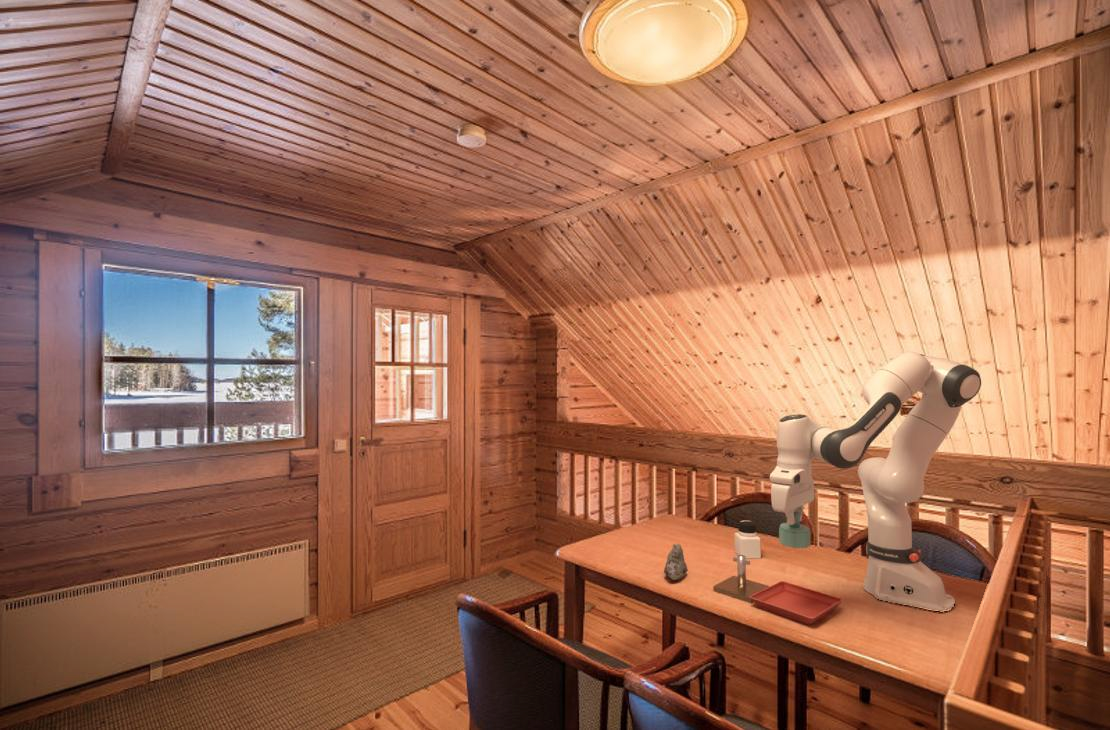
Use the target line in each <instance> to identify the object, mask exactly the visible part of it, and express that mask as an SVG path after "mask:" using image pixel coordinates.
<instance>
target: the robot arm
mask: <svg viewBox="0 0 1110 730" xmlns="http://www.w3.org/2000/svg"><path fill="white" fill-rule="evenodd" d="M981 387H982V378H981V374H980V373H979V371H977V370H976V369H975V368H973V367H971V366H969V365H966V364H961V363H959V362H955V361H953V360H951V359H946V358H942V357H940V358H939V357H937V356H936V357H934V356H929V355H925V354H922V353H921V354H920V353H918V352H913V351H907V352H903V353H901V354H899V355H897V356H895V357H894V358H892V359H890V360H889V361H887V362H886V363H885V364H884V365H882V366H881V367H879V369H877V370H876V371H875V372H874V373H872V374H871V376H869V377H868V378H867V380H866V381H865V383H864V384H863V385H862V388H861V389H862V391H861V392H862V396H863V400H864V401H865V402H866V403H867V404H868V407H867V408H866V409H865V411H863V412H862V413H861V415H860V416H859V417H858V418H857V419H856V420H855V421H854V422H853V423H851V425H849V426H848V427H843V428H834V427H829V426H826V425H824V424H821V423H818V422H816V421H815V420H813V419H811V418H810V417H808V415H806V414H790V415H786V416H783V417H782V418H780V419H779V421H778V424H777V427H776V428H777V429H776V448H777V453H778V454H777V458H776V466H775V468H774V469H773V470H772V472H771V473H770V474H769V481H770V482H771V487H770V496H771V497H770V500H771V507H772V509H773V511H775V512H779V513H783V514H785V517H786V523H788V524H790V525H793V524H795V523H796V522H795V520H796V518H794V514H793V513H794V511H798V512H800V522H802V519H803V518H802V517H803V513H804V509H805V506H804V505H807V504H810V503H811V502H813V501H815V496H816V495H815V483H814V479H813V477H812V460H818V461H822V462H823V463H828V464H829V465H831V466H834V467H835V468H838V469H845V470H847V469H850V468H851V469H852V468H853V467H856V466H857V465H859V466H858V468H857V476H858V478H859V480H860V483H861V488H862V493H863V497H864V498H863V499H864V503H865V507H866V514H867V535H868V536H867V537H868V540H867V541H866V550H865V553H866V559H867V567H866V574H865V577H864V582H863V584H862V588H863V589H864V590H865V591H866V592H867V593H869V594H870V595H872V596H874V598H875V599H876V600H878V599H879V600H878V601H880V600H883V601H882V602H885V601H888V602H887V603H890V602H894V603H893V604H895V603H900V604H906V605H912V606H917V607H922V608H927V609H932V610H938V611H943V610H948V609H950V608H952V607H953V606H954V604H955V605H956V600H955V598H954V597H953V596H952V595H950V594H948V593H946V590H945V585H944V581H943V580H942V578H941V577H940V576H939V575H938V574H936V573H935V572H934V571H933V570H931V568H929V567H928V566H927V565H925V564H924V563H923V562H922V561H921V554H922V553H921V551H922V550H921V549H919V550H917V549H916V548H915V547H914V546H913V539H912V536H913V535H912V533H913V532H912V519H911V516H910V514H909V512H908V510H907V506H906V504H911V503H914V502H916V501H918V500H919V499H920V498H922V496H923V495H924V491H925V483H924V481H925V480H924V479H925V476H926V473H927V471H928V468H929V465H930V462H931V460H932V459H933V457H934V455H935V453H936V452H937V451H938V450H939V447H940V446H941V445H942V443H943V442H944V440H946V437H947V436H948V435H949V433H950V432H951V430H952V429H953V427H954V425H955V423H956V421H957V419H958V417H959V415H960V412H961V408H962V406H964V405H965V404H966V403H969V401H971V400H972V399H974V398H975V397H976V396H977V395H978V393H979V392H980V390H981ZM918 392H919V393H921V398H920V399H919V401H918V402H917V403H916V404H914V406H913V407H912V409H911V410H910V411H909V413H907V415H906V417H905V418H904V419H903V421H902V422H901V423H900V425H899V426H898V427H897V429H896V431H895V432H894V434H893V435H892V439H891V440H892V443H891V447H890V450H889V453H888V455H887V457H886V458H885V457H879V456H877V457H875V456H874V457H870V458H869V457H868V458H866V459H864V460H863V458H864V457H865V455H866V453H867V450H868V448H869V447H870V445H871V444H872V443H873V442H874V440H875V439H877V437H878V436H879V435H880V434H881V433H882V432H883V431H884V430H885V429H886V428H887V427H888V426H889V425H890V423H891V422H893V421H894V419H895V418H896V416H897V415H898V414H899V413H900V411H901V408H902V407H903V405H904V404H905V403H907V402H908V401H909V400H910V399H911V398H913V396H915V394H917V393H918ZM862 460H863V461H862ZM860 462H861V463H860ZM954 607H955V606H954Z"/></svg>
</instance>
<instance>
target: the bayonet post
mask: <svg viewBox="0 0 1110 730" xmlns="http://www.w3.org/2000/svg"><path fill="white" fill-rule="evenodd" d="M736 555H737V554H736ZM732 561H733V562H736V563H737V564H736V565H737V566H736V567H737V568H736V569H737V572H736V573H737V576H736V575H732V576H729V577H727V578H726V579H723V580H722V581H720V582H718V583H717V584H714V585H713V587H712V588H713V592H715V593H718V594H721V595H724V596H728V597H731V598H732V599H733V598H734V599H737V600H740V601H743V602H746V603H749V604H752V603H754V602H753V601H752V600H751V598H750V596H751V595H753V594H755V593H757V592H760V591H762V590H764V589H766V588H768V587H770V586H771V585H767V584H764V583H761V582H757V581H754V580H750V579H747V566H749V565H751V561H750V560H747V559H746V556H744V555H737V557H732Z"/></svg>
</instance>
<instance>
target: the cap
mask: <svg viewBox="0 0 1110 730" xmlns="http://www.w3.org/2000/svg"><path fill="white" fill-rule="evenodd" d="M793 514H794V518H796V520H795V522H796V523H795V524H793V525H790V524H788V523H787V522H782V523H781V524H780V525H779V528H778V542H779V543H780V544H781V545H782V546H785V547H789V548H793V549H807V548H809V547H811V530H810V527H809V526H807V525H806V524H803V523H801V521H800V512H798V511H795V510H794V513H793Z"/></svg>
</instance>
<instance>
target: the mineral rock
mask: <svg viewBox="0 0 1110 730" xmlns="http://www.w3.org/2000/svg"><path fill="white" fill-rule="evenodd" d="M688 571H689V570H688V566H687V563H686V562H685V556H684V550H683V547H682V545H681V544H680V543H673V544H672V549H671V550H670V551H669V552H668V555H667V559H666V562H665V567H664V570H663V572H664V575H665V576H666V577H669V579H671V580H673V581H675V580H681V579H682V578H683V577H684V576H685V575H687V572H688Z"/></svg>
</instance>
